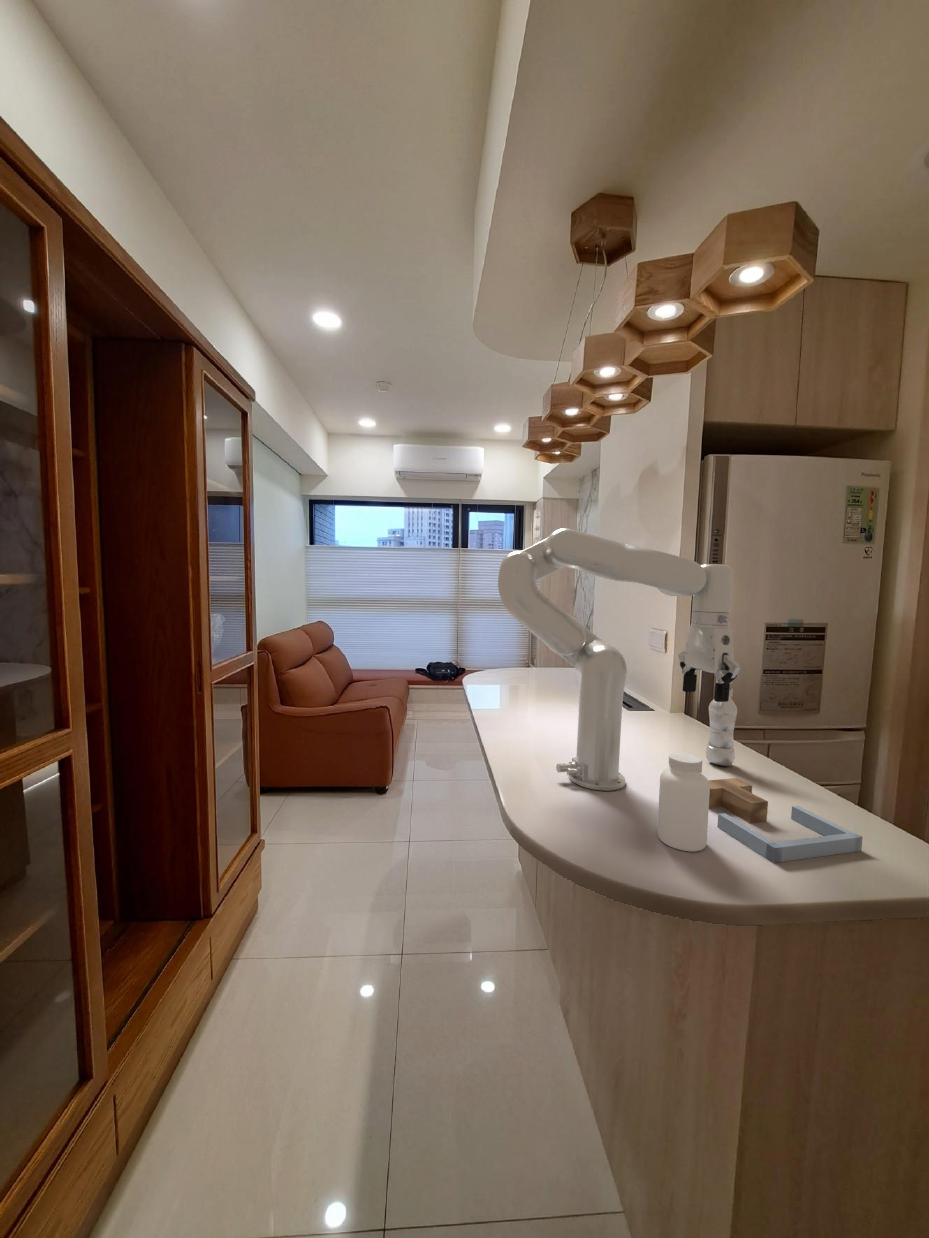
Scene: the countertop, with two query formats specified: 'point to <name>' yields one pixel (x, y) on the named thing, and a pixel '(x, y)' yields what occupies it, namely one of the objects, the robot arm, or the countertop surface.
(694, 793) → the pill bottle
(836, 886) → the countertop surface
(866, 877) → the countertop surface
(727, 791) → the t block
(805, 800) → the countertop surface
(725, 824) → the frame
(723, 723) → the plastic bottle
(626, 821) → the countertop surface
